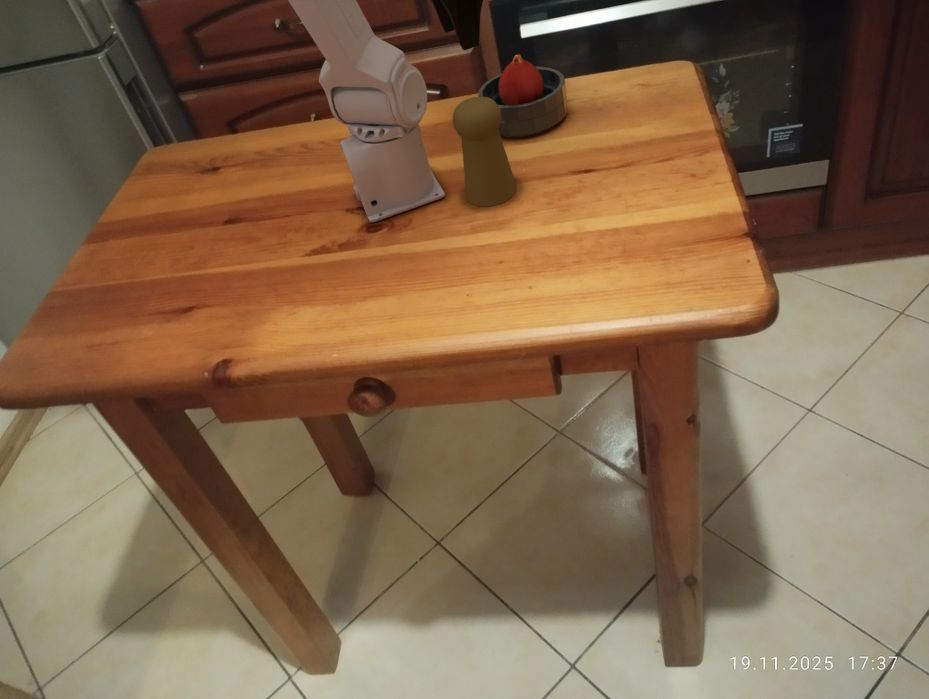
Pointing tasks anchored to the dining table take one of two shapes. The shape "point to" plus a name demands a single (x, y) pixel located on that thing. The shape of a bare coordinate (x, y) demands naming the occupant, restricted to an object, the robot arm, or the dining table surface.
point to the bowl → (530, 106)
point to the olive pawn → (483, 152)
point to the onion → (520, 83)
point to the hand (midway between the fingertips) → (461, 38)
